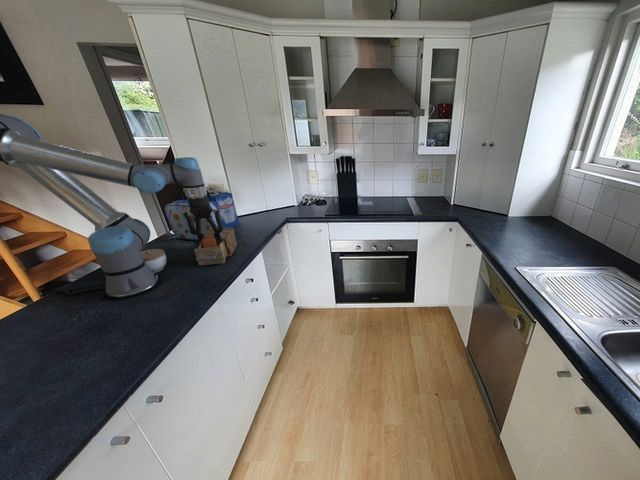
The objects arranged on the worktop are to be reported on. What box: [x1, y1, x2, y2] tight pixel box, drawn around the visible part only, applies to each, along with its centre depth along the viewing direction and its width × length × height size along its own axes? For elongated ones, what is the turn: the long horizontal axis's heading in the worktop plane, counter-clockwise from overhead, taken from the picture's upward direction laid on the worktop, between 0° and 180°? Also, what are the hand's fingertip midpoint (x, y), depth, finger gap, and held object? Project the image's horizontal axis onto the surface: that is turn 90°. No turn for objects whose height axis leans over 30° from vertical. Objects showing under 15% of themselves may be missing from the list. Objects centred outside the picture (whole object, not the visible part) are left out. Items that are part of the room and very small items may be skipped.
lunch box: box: [163, 199, 224, 241], centre depth 146 cm, size 28×10×22 cm, turn 85°
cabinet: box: [198, 227, 238, 258], centre depth 134 cm, size 15×12×10 cm
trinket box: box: [140, 248, 167, 274], centre depth 116 cm, size 11×11×9 cm
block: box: [202, 235, 217, 248], centre depth 123 cm, size 5×5×5 cm
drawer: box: [193, 240, 228, 266], centre depth 124 cm, size 18×10×8 cm, turn 15°
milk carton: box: [208, 191, 240, 228], centre depth 164 cm, size 10×6×20 cm, turn 148°
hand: (212, 247), depth 124 cm, fingers closed on block, 5 cm apart
